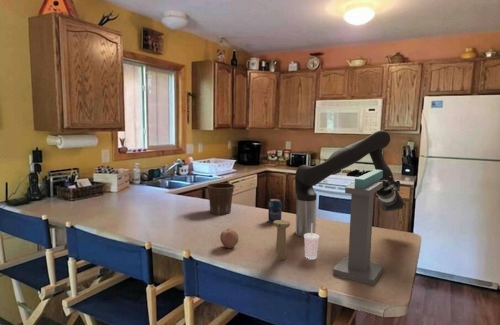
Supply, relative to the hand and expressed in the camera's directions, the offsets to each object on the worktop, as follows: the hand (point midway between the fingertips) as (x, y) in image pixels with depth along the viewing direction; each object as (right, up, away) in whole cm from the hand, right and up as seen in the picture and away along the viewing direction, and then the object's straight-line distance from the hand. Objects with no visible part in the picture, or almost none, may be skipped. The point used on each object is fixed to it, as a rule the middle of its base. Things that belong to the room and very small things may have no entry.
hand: (378, 177), depth 133 cm
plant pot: (-69, -23, +63) cm, 96 cm away
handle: (-39, -32, -2) cm, 51 cm away
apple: (-60, -31, +10) cm, 68 cm away
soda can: (-38, -26, +46) cm, 65 cm away
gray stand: (-11, -33, -11) cm, 37 cm away
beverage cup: (-27, -32, 0) cm, 42 cm away
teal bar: (-7, -1, -11) cm, 13 cm away
